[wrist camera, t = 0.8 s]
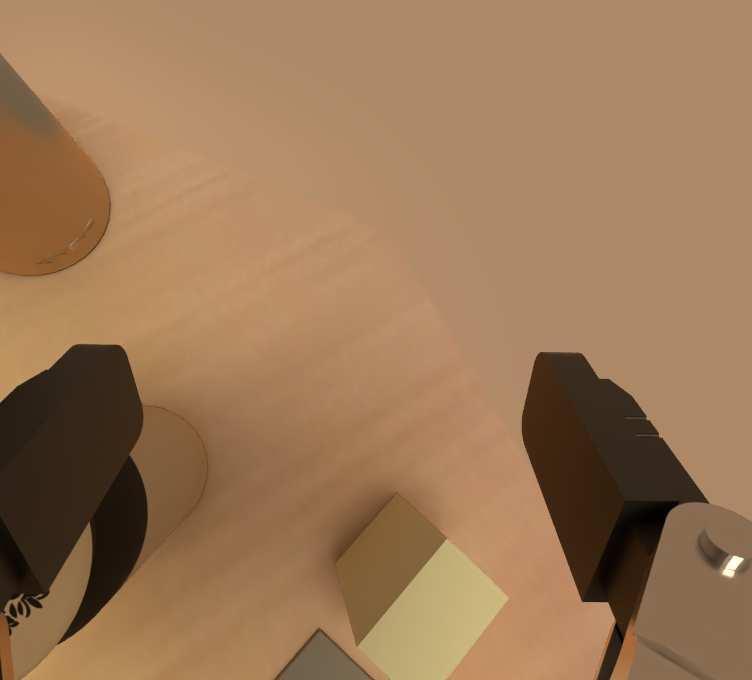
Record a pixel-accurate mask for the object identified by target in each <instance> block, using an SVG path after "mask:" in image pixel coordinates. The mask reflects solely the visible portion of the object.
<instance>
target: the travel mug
mask: <svg viewBox="0 0 752 680" xmlns="http://www.w3.org/2000/svg"><path fill="white" fill-rule="evenodd" d="M142 407H143V416H144V418H143V427H142V431H141V435H140V437H139V439H138V441H137V443H136V444H135V446H134V448H133V449H132V451H131V453H130V454H129V456H128V458H127V459H126V461H125V463H124V464H123V466H122V468H121V470H120V471H119V473H118V475H117V476H116V478H115V480H114V481H113V483H112V485H111V486H110V488H109V490H108V491H107V493H106V495H105V496H104V498H103V500H102V501H101V503H100V505H99V506H98V508H97V510H96V511H95V513H94V515H93V516H92V518H91V520H90V522H89V523H88V525H87V527H86V528H85V530H84V532H83V533H82V535H81V537H80V538H79V540H78V542H77V543H76V545H75V547H74V548H73V550H72V552H71V553H70V555H69V557H68V558H67V560H66V562H65V563H64V565H63V567H62V568H61V570H60V572H59V574H58V575H57V577H56V579H55V580H54V582H53V584H52V585H51V587H50V589H49V590H48V592H47V594H13V595H12V597H11V598H10V600H9V601H8V603H7V604H6V606H5V607H4V609H3V610H2V612H3V613H4V615H5V617H6V618H7V622H8V628H9V636H10V645H11V653H12V662H13V670H14V679H15V680H21V679H22V678H23V677H25V676H26V675H27V674H28V673H29V672H31V671H32V670H33V669H34V668H35V667H36V666H38V664H39V663H40V662H41V661H42V660H43V659H44V658H45V657H46V656H47V655H48V654H49V653H50V652H51V651H52V649H53V648H54V647H55V646H56V645H58V644H60V643H62V642H63V641H65V640H66V639H68V638H69V637H71V636H72V635H74V634H75V633H76V632H78V631H79V630H80V629H81V628H83V627H84V626H85V625H86V624H87V623H88V622H89V621H91V620H92V619H93V618H94V617H95V616H96V615H97V613H98V612H99V611H100V610H101V609H102V608H103V607H104V606H105V605H106V604H107V602H108V601H109V600H110V599H111V598H112V597H113V596H114V595H115V594H116V593H117V592H118V590H119V589H120V588H121V587H122V586H123V585H124V584H125V583H126V582H127V581H128V579H129V578H130V577H131V576H132V575H133V574H134V573H135V572H136V571H137V570H138V569H139V567H140V566H141V565H142V564H143V563H144V562H145V561H146V560H147V559H148V558H149V556H150V555H151V554H152V553H153V552H154V551H155V550H156V549H157V548H158V547H159V545H160V544H161V543H162V542H163V541H164V540H165V539H166V538H167V537H168V536H169V535H170V533H171V532H172V531H173V530H174V529H175V528H176V527H177V526H178V525H179V524H180V522H181V521H182V520H183V519H184V518H185V517H186V516H187V515H188V514H189V513H190V511H191V510H192V509H193V508H194V506H195V505H196V503H197V502H198V500H199V498H200V496H201V494H202V492H203V489H204V486H205V482H206V477H207V457H206V452H205V449H204V446H203V443H202V441H201V439H200V437H199V436H198V434H197V432H196V431H195V430H194V428H193V427H192V426H191V425H190V424H189V423H188V422H186V421H185V420H184V419H183V418H181V417H180V416H178V415H176V414H175V413H172V412H170V411H168V410H165V409H161V408H157V407H149V406H142Z"/></svg>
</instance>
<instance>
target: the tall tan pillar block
mask: <svg viewBox="0 0 752 680" xmlns="http://www.w3.org/2000/svg"><path fill="white" fill-rule="evenodd" d="M335 564H336V568H337V572H338V576H339V580H340V584H341V588H342V591H343V595H344V599H345V603H346V607H347V611H348V615H349V619H350V623H351V627H352V631H353V635H354V639H355V642H356V646H357V648H358V649H359V650H360V651H361V652H362V653H363V654H364V655H365V656H366V657H367V658H368V659H369V660H371V661H372V662H373V663H374V664H375V665H376V666H377V667H378V668H379V669H380V670H381V671H382V672H383V673H384V674H385V675H386V676H387V677H388V678H389V679H390V680H446V679H447V678H448V676H449V675H450V674H451V672H452V671H453V670H454V669H455V667H456V666H457V665H458V663H459V662H460V661H461V660H462V658H463V657H464V656H465V654H466V653H467V652H468V650H469V649H470V648H471V647H472V645H473V644H474V643H475V641H476V640H477V639H478V638H479V636H480V635H481V634H482V632H483V631H484V630H485V628H486V627H487V626H488V625H489V623H490V622H491V621H492V619H493V618H494V617H495V616H496V614H497V613H498V612H499V610H500V609H501V608H502V607H503V605H504V604H505V603H506V601H507V600H508V599H509V597H508V596H507V595H506V594H505V593H503V592H502V591H501V590H500V589H499V588H498V587H497V586H496V585H495V584H494V583H493V582H492V581H491V580H490V579H489V578H488V577H487V576H486V575H485V574H484V573H483V572H482V571H481V570H480V569H479V568H478V567H477V566H476V565H475V564H474V563H473V562H472V561H471V560H470V559H468V558H467V557H466V556H465V555H464V554H463V553H462V552H461V551H460V550H459V549H458V548H457V547H456V546H455V545H454V544H453V543H452V542H451V541H450V540H449V539H448V538H447V537H446V536H445V535H443V534H442V533H441V532H440V531H439V530H438V529H437V528H436V527H435V526H434V525H432V524H431V523H430V522H429V521H428V520H427V519H426V518H425V517H424V516H422V515H421V514H420V513H419V512H418V511H417V510H416V509H415V508H414V507H412V506H411V505H410V504H409V503H408V502H407V501H406V500H405V499H404V498H403V497H401V496H400V495H399V494H398V493H396V494H395V496H394V497H393V498H392V499H391V500H390V501H389V502H388V504H387V505H386V506H385V507H384V508H383V509H382V510H381V511H380V513H379V514H378V515H377V516H376V517H375V518H374V519H373V521H372V522H371V523H370V524H369V525H368V526H367V527H366V529H365V530H364V531H363V532H362V533H361V534H360V535H359V537H358V538H357V539H356V540H355V541H354V542H353V543H352V545H351V546H350V547H349V548H348V549H347V550H346V551H345V552H344V554H343V555H342V556H341V557H340V558H339V559H338V560H337V562H336V563H335Z"/></svg>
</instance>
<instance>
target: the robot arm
mask: <svg viewBox="0 0 752 680" xmlns="http://www.w3.org/2000/svg"><path fill="white" fill-rule="evenodd" d="M109 211H110V200H109V193H108V189H107V186H106V184H105V181H104V178H103V176H102V175H101V173H100V172H99V170H98V169H97V167H96V166H95V165H94V163H93V162H92V161H91V160H90V159H89V158H88V156H87V155H86V154H85V153H84V152H83V150H82V149H81V148H80V147H79V146H78V145H77V143H76V142H75V141H74V140H73V139H72V138H71V136H70V135H69V134H68V132H67V131H66V130H65V129H64V128H63V127H62V125H61V124H60V123H59V122H58V121H57V119H56V118H55V117H54V116H53V115H52V114H51V112H50V111H49V110H48V109H47V108H46V107H45V105H44V104H43V103H42V102H41V101H40V100H39V98H38V97H37V96H36V95H35V94H34V92H33V91H32V90H31V89H30V88H29V87H28V85H27V84H26V83H25V82H24V81H23V80H22V78H21V77H20V76H19V75H18V74H17V73H16V72H15V70H14V69H13V68H12V67H11V65H10V64H9V63H8V62H7V61H6V60H5V59H4V57H3V56H2V55H1V54H0V270H1V271H3V272H6V273H12V274H18V275H43V274H47V273H52V272H57V271H59V270H62V269H64V268H66V267H69V266H71V265H73V264H74V263H76V262H77V261H79V260H80V259H82V258H83V257H85V256H86V255H87V254H88V253H89V252H90V251H91V250H92V249H93V248H94V247H95V246H96V244H97V243H98V241H99V240H100V238H101V236H102V235H103V233H104V231H105V228H106V225H107V222H108V219H109ZM143 418H144V416H143V407H142V404H141V400H140V397H139V394H138V390H137V387H136V384H135V380H134V377H133V374H132V370H131V367H130V364H129V361H128V357H127V354H126V352H125V350H124V349H123V348H122V347H121V346H119V345H96V344H77V345H74V346H72V347H71V348H70V349H69V350H68V351H67V352H66V353H65V354H64V355H63V356H62V357H61V358H60V359H59V360H58V361H57V362H56V363H55V364H54V365H53V366H52V367H51V368H50V369H49V370H45V371H43V372H41V373H39V374H38V375H36V376H34V377H33V378H31V379H29V380H27V381H26V382H24V383H22V384H21V385H19V386H17V387H16V388H15V389H14V390H13V391H12V392H11V393H10V394H9V395H8V396H7V397H6V398H5V399H4V400H3V401H2V402H1V403H0V680H15V679H14V670H13V662H12V653H11V645H10V636H9V628H8V622H7V618H6V617H5V615H4V613H3V612H2V610H3V609H4V607H5V606H6V604H7V603H8V601H9V600H10V598H11V597H12V595H13V594H47V592H48V590H49V589H50V587H51V585H52V584H53V582H54V580H55V579H56V577H57V575H58V574H59V572H60V570H61V568H62V567H63V565H64V563H65V562H66V560H67V558H68V557H69V555H70V553H71V552H72V550H73V548H74V547H75V545H76V543H77V542H78V540H79V538H80V537H81V535H82V533H83V532H84V530H85V528H86V527H87V525H88V523H89V522H90V520H91V518H92V516H93V515H94V513H95V511H96V510H97V508H98V506H99V505H100V503H101V501H102V500H103V498H104V496H105V495H106V493H107V491H108V490H109V488H110V486H111V485H112V483H113V481H114V480H115V478H116V476H117V475H118V473H119V471H120V470H121V468H122V466H123V464H124V463H125V461H126V459H127V458H128V456H129V454H130V453H131V451H132V449H133V448H134V446H135V444H136V443H137V441H138V439H139V437H140V435H141V431H142V427H143ZM522 436H523V441H524V445H525V448H526V451H527V453H528V456H529V459H530V462H531V464H532V467H533V470H534V472H535V475H536V478H537V481H538V483H539V486H540V489H541V491H542V494H543V497H544V500H545V502H546V505H547V508H548V510H549V513H550V516H551V519H552V521H553V524H554V527H555V529H556V532H557V535H558V538H559V540H560V543H561V546H562V548H563V551H564V554H565V557H566V559H567V562H568V565H569V567H570V570H571V573H572V576H573V578H574V581H575V584H576V586H577V589H578V592H579V595H580V597H581V600H582V602H608V603H609V605H610V608H611V610H612V613H613V615H614V617H615V621H614V623H613V625H612V627H611V629H610V632H609V635H608V638H607V641H606V644H605V647H604V650H603V653H602V656H601V659H600V662H599V664H598V667H597V670H596V673H595V676H594V679H593V680H752V522H751V521H750V520H748V519H746V518H744V517H743V516H741V515H739V514H737V513H735V512H733V511H731V510H728V509H725V508H723V507H720V506H716V505H712V504H710V503H709V502H708V501H707V499H706V498H705V497H704V495H703V494H702V492H701V491H700V490H699V488H698V487H697V485H696V484H695V483H694V481H693V480H692V478H691V477H690V476H689V474H688V473H687V472H686V470H685V469H684V467H683V466H682V465H681V463H680V462H679V460H678V459H677V458H676V456H675V455H674V454H673V452H672V451H671V449H670V448H669V447H668V445H667V444H666V443H665V441H664V440H663V438H659V433H658V432H657V430H656V429H655V427H654V426H653V425H652V423H651V422H650V420H647V419H646V415H645V413H644V412H643V411H642V409H641V408H640V407H639V405H638V404H637V402H636V401H635V400H634V398H633V397H632V396H631V395H630V394H628V393H627V392H626V391H624V390H623V389H621V388H620V387H619V386H618V385H616V384H615V383H613V382H612V381H611V380H609V379H599V378H598V377H597V375H596V374H595V372H594V370H593V369H592V367H591V366H590V364H589V363H588V361H587V360H586V358H585V357H584V356H583V355H582V354H581V353H561V352H557V353H556V352H540V353H539V354H538V355H537V357H536V360H535V362H534V366H533V371H532V375H531V379H530V384H529V388H528V393H527V397H526V401H525V406H524V410H523V415H522Z"/></svg>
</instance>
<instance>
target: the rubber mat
mask: <svg viewBox="0 0 752 680" xmlns="http://www.w3.org/2000/svg"><path fill="white" fill-rule="evenodd" d="M275 680H373V679H372V678H371V677H370V676H369V675H368V674H367V673H366V672H365V671H364V670H363V669H362V668H361V667H360V666H359V665H358V664H357V663H356V662H355V661H353V660H352V659H351V658H350V657H349V656H348V655H347V654H346V653H345V652H344V651H343V650H342V649H341V648H340V647H339V646H338V645H337V644H336V643H334V642H333V641H332V640H331V639H330V638H329V637H328V636H327V635H326V634H325V633H324V632H323V631H322V630H321V629H320V628H319V629H318V630H317V632H316V633H315V634H314V635H313V636H312V637H311V639H310V640H309V641H308V642H307V643H306V644H305V646H304V647H303V648H302V649H301V650H300V651H299V653H298V654H297V655H296V656H295V657H294V658H293V660H292V661H291V662H290V663H289V664H288V665H287V667H286V668H285V669H284V670H283V671H282V672H281V674H280V675H279V676H278V677H277V678H276V679H275Z"/></svg>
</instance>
